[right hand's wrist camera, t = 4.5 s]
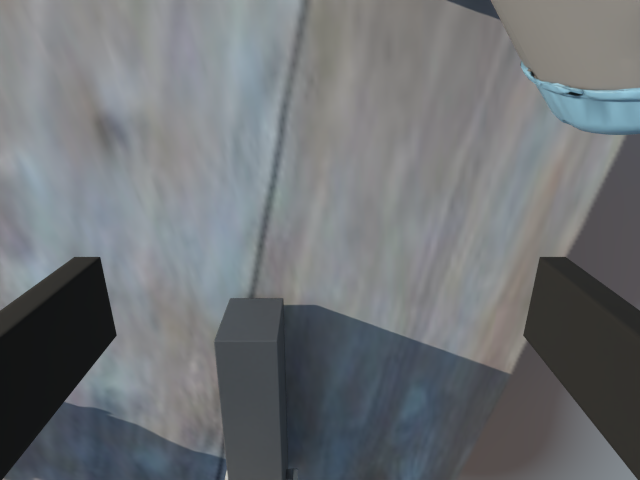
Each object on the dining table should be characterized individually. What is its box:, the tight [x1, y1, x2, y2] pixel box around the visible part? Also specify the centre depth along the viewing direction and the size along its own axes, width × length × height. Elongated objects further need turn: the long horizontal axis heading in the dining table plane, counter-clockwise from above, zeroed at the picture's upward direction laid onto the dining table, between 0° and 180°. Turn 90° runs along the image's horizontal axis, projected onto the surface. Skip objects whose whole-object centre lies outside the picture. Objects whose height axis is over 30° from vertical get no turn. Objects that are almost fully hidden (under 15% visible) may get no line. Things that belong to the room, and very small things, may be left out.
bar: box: [214, 298, 288, 480], centre depth 46 cm, size 26×6×8 cm, turn 0°
